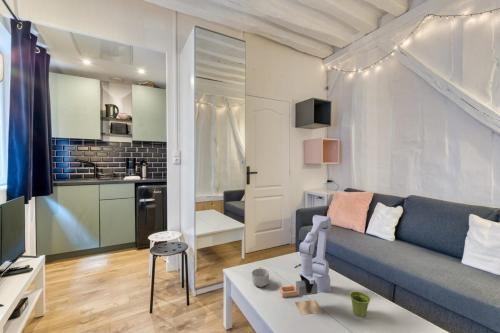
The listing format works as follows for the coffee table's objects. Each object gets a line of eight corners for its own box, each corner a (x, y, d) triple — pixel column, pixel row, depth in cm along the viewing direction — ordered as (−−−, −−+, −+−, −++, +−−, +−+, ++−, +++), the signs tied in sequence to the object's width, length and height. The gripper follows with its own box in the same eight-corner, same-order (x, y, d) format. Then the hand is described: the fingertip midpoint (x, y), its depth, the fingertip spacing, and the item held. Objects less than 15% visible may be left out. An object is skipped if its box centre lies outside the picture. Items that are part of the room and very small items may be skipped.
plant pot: (352, 304, 122) (352, 288, 122) (371, 311, 116) (372, 295, 116) (347, 314, 115) (347, 297, 115) (367, 322, 109) (367, 305, 109)
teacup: (267, 290, 136) (267, 277, 136) (250, 288, 139) (250, 275, 138) (270, 277, 150) (270, 266, 150) (254, 276, 152) (254, 264, 152)
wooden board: (315, 300, 126) (315, 299, 126) (323, 312, 116) (323, 312, 116) (294, 302, 125) (294, 302, 125) (301, 315, 115) (301, 314, 115)
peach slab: (294, 290, 136) (294, 285, 136) (297, 296, 130) (297, 291, 130) (279, 291, 135) (279, 286, 135) (282, 298, 129) (282, 292, 129)
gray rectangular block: (313, 288, 124) (313, 279, 124) (317, 293, 119) (317, 284, 119) (296, 290, 123) (295, 281, 123) (299, 295, 118) (299, 286, 118)
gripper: (294, 259, 127) (294, 282, 128) (304, 272, 113) (304, 298, 113) (306, 258, 128) (306, 281, 129) (318, 271, 114) (318, 297, 114)
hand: (306, 289), depth 121 cm, fingers closed on gray rectangular block, 5 cm apart
